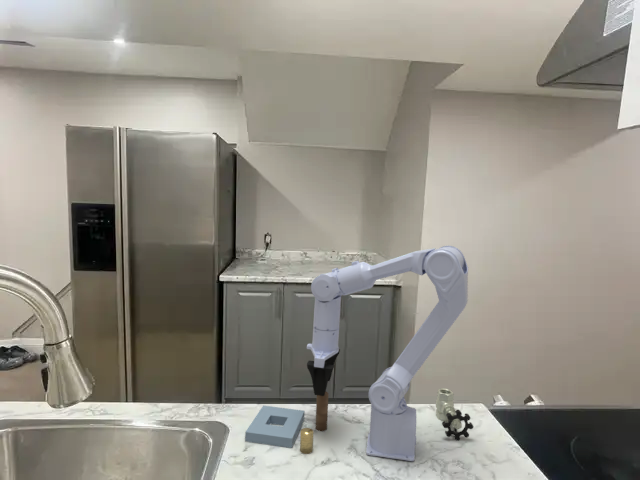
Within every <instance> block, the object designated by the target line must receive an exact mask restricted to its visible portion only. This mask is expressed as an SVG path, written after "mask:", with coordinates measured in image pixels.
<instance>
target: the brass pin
mask: <svg viewBox="0 0 640 480" xmlns="http://www.w3.org/2000/svg"><path fill="white" fill-rule="evenodd" d="M299 438H300V439H299V441H300V442H299V452H300V453H301V454H305V455H310V454H311V453H313V451H314V448H313V447H314V429H312V428H311V427H303V428H300V437H299Z"/></svg>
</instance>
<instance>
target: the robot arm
mask: <svg viewBox="0 0 640 480" xmlns="http://www.w3.org/2000/svg"><path fill="white" fill-rule="evenodd" d="M350 264H351V265H349V266H345V267H341V268H338V267H335V268H332V269H331V271H329V272H326V273H320V274H319V275H318V276H317V275H316V277H315V278H313V280H312V282H311V285H310V290H311V293H312V295H313V297H314V307H313V308H314V309H313V323H312V325H313V326H312V341H311V343H307V345H306V350H310V351H311V353H312V355H313V357H314V358H313V359H314V360H308V361H307V363H306V367H307V370H308V372H309V374H310V377H311V381H312V388H313V393H314V395H315V396H317V395H320V396H324V395H325V392H327V387H328V382H330V381H331V378H332V375H333V371H334V368H335V362H336V360H337V358H338V356H339V354H340V352H341V349H340V347H339V340H340V339H339V338H340V337H339V336H340V324H341V323H340V321H341V303H342V302H341V300H342V296H348V295H351V294H355V293H359V292H361V291H366V290H369V289H372V288H373V287H374V286H375V283H376V282H377V280H378V281H379V280H380V279H385V278H388V277H393V276H396V275H400V274H404V273H408V272H411V273H415V274H417V275H419V276H424V275H425V274H426V275H427V277H428V279H429V280H430V281H431V282H432V283H431V284H433V285H434V288H435V291H436V295H437V298H438V302H437V303H436V305H435V306H434V308H433V309H432V310H431V311H430V313H429V314H428V316H427V317H426V319H425V320H424V321H423V323H422V324H421V325H420V327H419V328H418V330H417V331H416V333H415V334H414V335H413V336H412V338H411V339H410V341H409V342H408V344H407V345H406V346H405V348H404V349H403V351H402V352H401V353H400V355H399V356H398V358H397V359H396V361H394V363H393V364H392V366H390V367H387V368H386V369H384V370H383V371H382V373H381V375H380V376H379V377H378V379H377V380H376V381H375V382H373V383H372V384H371V386H370V388H369V390H368V400H369V402H370V404H371V405H370V420H369V421H370V423H369V424H370V425H369V432H368V434H367V443H366V450H365V453H366V455H367V456H372V457H373V456H374V457H379V458H380V457H381V458H387V459H393V460H400V461H407V462H414V461H415V454H416V453H415V452H416V445H417V409H416V408H415V407H412V406H408V404H407V401H406V399H405V395H406V394H407V393H408V391H409V389H410V386H411V382H412V380H413V378H414V376H415V375H416V374H417V372H418V371H419V370H420V368H421V367H422V366H423V365H424V363H425V362H426V361H427V359H428V358H429V356H430V355H431V354H432V353H433V351H434V350H435V348H436V347H437V346H438V344H439V343H440V342H441V341H442V339H443V338H444V336H446V334H447V332H448V331H449V329H450V328H451V327H452V326H453V324H454V323H456V320H457V319H458V317H459V316H460V315H461V313H462V312H463V311H464V310H465V308H466V307H467V304H468V301H469V299H468V297H469V295H468V293H469V291H468V290H469V287H468V286H469V285H468V283H469V277H468V276H469V265H468V264H467V261H466V258H465V256H464V253H463V252H462V251H461V250H460V249H459V248H458V247H456V246H453V245H442V246H440V247H439V248H433V247H432V248H427V249H421V250H420V249H419V250H415V251H412V252H409V253H406V254H404V255H400V256H398V257H394V258H391V259H388V260H385V261H382V262H379V263H376V264H373V265H372V264H370V263H368V262H365V261H360V260H355V261H352V262H350Z"/></svg>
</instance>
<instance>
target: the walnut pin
mask: <svg viewBox="0 0 640 480" xmlns="http://www.w3.org/2000/svg"><path fill="white" fill-rule="evenodd" d="M329 396H330V395H329V392H328V391H326V392H325V395H324V396H320V395H316V407H315V426H314V427H315V430H316V431H317V432H325V431H327V429H328V414H329Z"/></svg>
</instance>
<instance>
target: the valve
mask: <svg viewBox="0 0 640 480" xmlns="http://www.w3.org/2000/svg"><path fill="white" fill-rule="evenodd" d="M436 393H437V395H436V396H437V398H436V400H435V408H436V409H435V411H436V412H435V416H436V418H437V420H439V421H442V423H441V426H442V427H443V428H444V429H447V430H445V431H444V434H445V435H446V437H448V438H451V436H452V435H453V438H454V440H455V441H458V442H459V441H460V439H461V436H463V437H464V438H466V439H467V438H469V437H470V433H469V432H468V430H473V429H474V424H473V423H472V422H468V421H470V420H471V415H469V413H464V416H463V414H462V412H461V411H462V410H460V409H456V408H455V405H454V395H455V394H454V392H453V391H452V390H450V389H449V388H439V389H437V392H436ZM462 422H463V423H464V427H463V429H461V428H462V425H463V424H462ZM451 425H452V427H453V430H452V427H451ZM458 430H461V431H458Z"/></svg>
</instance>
